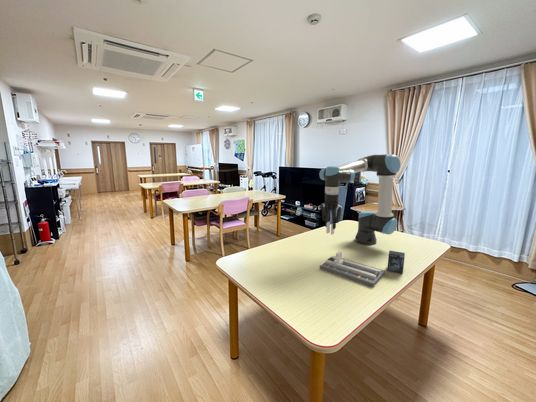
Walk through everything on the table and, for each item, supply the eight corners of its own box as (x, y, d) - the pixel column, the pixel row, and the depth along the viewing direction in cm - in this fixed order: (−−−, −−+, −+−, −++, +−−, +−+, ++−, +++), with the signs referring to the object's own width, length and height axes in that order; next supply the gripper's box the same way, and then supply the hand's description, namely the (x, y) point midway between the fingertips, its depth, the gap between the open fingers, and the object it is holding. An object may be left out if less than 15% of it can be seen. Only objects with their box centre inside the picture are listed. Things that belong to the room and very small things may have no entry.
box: (387, 271, 134) (388, 253, 132) (387, 267, 139) (389, 250, 137) (403, 274, 130) (404, 256, 128) (403, 270, 135) (404, 252, 133)
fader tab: (336, 261, 142) (337, 250, 141) (343, 263, 139) (343, 252, 138) (333, 263, 139) (334, 252, 138) (340, 265, 137) (340, 254, 135)
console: (334, 258, 151) (334, 252, 150) (384, 274, 131) (385, 267, 130) (319, 268, 138) (320, 262, 137) (373, 287, 118) (374, 279, 117)
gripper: (316, 193, 138) (315, 232, 142) (341, 196, 128) (339, 237, 132) (323, 191, 144) (322, 229, 148) (347, 194, 133) (345, 234, 138)
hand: (330, 233), depth 140 cm, fingers open, 2 cm apart
